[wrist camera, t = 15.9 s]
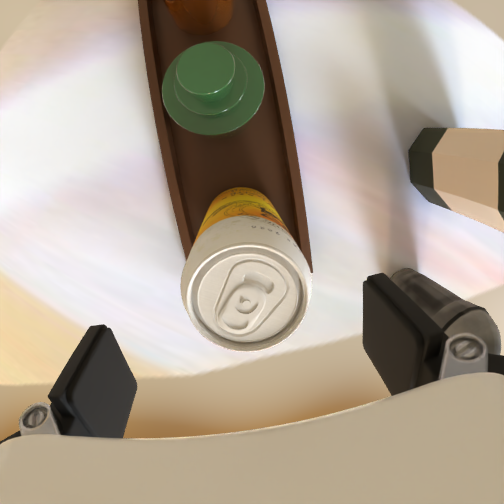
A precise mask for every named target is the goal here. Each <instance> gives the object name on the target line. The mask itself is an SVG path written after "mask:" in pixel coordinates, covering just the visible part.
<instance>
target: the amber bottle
mask: <svg viewBox="0 0 504 504" xmlns="http://www.w3.org/2000/svg"><path fill="white" fill-rule="evenodd" d="M163 2H164V4H165V6H166V8H167V10H168V11H169V13H170V15H171V17H172V19H173V21H174V23H175V24H176V26H177V27H178V28H179V29H180V30H182V31H183V32H185V33H188V34H191V35H208V34H212V33H214V32H217V31H219V30H221V29H222V28H223V27H225V26H226V25H227V24H228V23H229V22H230V20H231V18H232V16H233V13H234V0H163Z"/></svg>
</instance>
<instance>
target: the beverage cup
mask: <svg viewBox="0 0 504 504" xmlns="http://www.w3.org/2000/svg"><path fill="white" fill-rule="evenodd" d="M390 279H391V280H392V281H393V282H394V283H395V284H396V285H397V286H398V287H399V288H400V289H401V290H402V291H403V292H405V293H406V294H407V295H408V296H409V297H410V298H411V299H412V300H413V301H414V302H415V303H416V304H417V305H418V306H419V307H420V308H421V309H422V310H423V311H424V312H425V313H426V314H427V315H428V316H429V317H430V318H431V319H432V320H433V321H434V322H435V323H436V324H437V325H438V326H439V327H440V328H441V329H442V330H443V331H444V333H445V334H446V335H447V336H448V337H449V338H450V337H451V336H453V335H455V334H458V333H471V334H475V335H477V336H479V337H481V338H482V339H483V340H484V341H485V342H486V344H487V347H488V353H489V354H496V355H500V352H501V339H500V333H499V330H498V327H497V325H496V324H495V322H494V321H493V319H492V318H491V316H490V315H489V313H488V312H487V311H486V309H485V308H482V307H480V306H477V305H475V304H472V303H470V302H468V301H465V300H463V299H461V298H460V297H458V296H457V295H455V294H453V293H452V292H450V291H449V290H447V289H445V288H444V287H442V286H441V285H439V284H437V283H436V282H434V281H432V280H431V279H429V278H427V277H426V276H424V275H422V274H420V273H418V272H416V271H414V270H412V269H410V268H407V269H402V270H399V271H398V272H396V273H395V274H394V275H393V276H392V277H391V278H390Z"/></svg>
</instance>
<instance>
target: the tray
mask: <svg viewBox="0 0 504 504" xmlns="http://www.w3.org/2000/svg"><path fill="white" fill-rule="evenodd" d="M138 6H139V16H140V24H141V33H142V41H143V48H144V55H145V62H146V69H147V76H148V82H149V88H150V94H151V100H152V106H153V112H154V117H155V123H156V128H157V134H158V139H159V144H160V149H161V154H162V159H163V164H164V168H165V173H166V178H167V182H168V187H169V191H170V196H171V200H172V204H173V209H174V213H175V217H176V221H177V225H178V229H179V234H180V238H181V242H182V245H183V249H184V253H185V257H186V261H187V259H188V256H189V254H190V252H191V249H192V247H193V244H194V242H195V239H196V237H197V235H198V232H199V230H200V227H201V225H202V223H203V220H204V218H205V216H206V213H207V211H208V209H209V207H210V205H211V203H212V202H213V200H214V199H215V198H216V197H217V196H218V195H220V194H221V193H223V192H224V191H226V190H229V189H232V188H237V187H246V188H251V189H254V190H257V191H259V192H260V193H262V194H263V195H265V196H266V197H267V198H268V199H269V201H270V202H271V203H272V205H273V206H274V208H275V210H276V211H277V213H278V215H279V216H280V218H281V219H282V221H283V223H284V224H285V226H286V227H287V229H288V231H289V232H290V234H291V236H292V237H293V239H294V241H295V242H296V244H297V246H298V247H299V249H300V251H301V252H302V254H303V256H304V257H305V259H306V261H307V263H308V266H309V268H310V272H311V273H313V268H312V259H311V251H310V242H309V234H308V226H307V218H306V211H305V203H304V196H303V189H302V182H301V176H300V169H299V163H298V157H297V150H296V144H295V138H294V132H293V127H292V121H291V116H290V110H289V105H288V99H287V94H286V89H285V84H284V79H283V74H282V69H281V64H280V60H279V55H278V50H277V46H276V41H275V37H274V32H273V28H272V24H271V20H270V15H269V11H268V7H267V3H266V0H234V13H233V16H232V18H231V20H230V22H229V23H228V24H227V25H226V26H225V27H223V28H222V29H221V30H219V31H217V32H214V33H212V34H208V35H191V34H188V33H185V32H183V31H182V30H180V29H179V28H178V27H177V26H176V24H175V23H174V21H173V19H172V17H171V15H170V13H169V11H168V10H167V8H166V6H165V4H164V2H163V0H138ZM209 41H222V42H228V43H232V44H235V45H237V46H239V47H241V48H243V49H244V50H246V51H247V52H249V53H250V54H251V55H252V56H253V57H254V58H255V60H256V61H257V63H258V64H259V66H260V68H261V70H262V73H263V77H264V83H265V86H264V96H263V99H262V102H261V104H260V106H259V108H258V110H257V112H256V114H255V115H254V117H253V119H252V120H251V122H250V124H249V125H248V127H247V128H246V129H245V130H244V131H243V132H242V133H240V134H239V135H237V136H235V137H233V138H230V139H225V140H216V139H211V138H208V137H205V136H202V135H199V134H196V133H193V132H191V131H188V130H186V129H185V128H183V127H181V126H180V125H179V124H177V123H176V122H175V121H174V120H173V119H172V117H171V116H170V115H169V113H168V112H167V110H166V108H165V105H164V102H163V98H162V84H163V79H164V76H165V73H166V71H167V69H168V67H169V66H170V64H171V63H172V61H173V60H174V59H175V58H176V57H177V56H178V55H179V54H180V53H182V52H183V51H185V50H186V49H188V48H190V47H191V46H194V45H196V44H199V43H203V42H209Z"/></svg>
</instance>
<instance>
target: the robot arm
mask: <svg viewBox="0 0 504 504" xmlns="http://www.w3.org/2000/svg"><path fill="white" fill-rule="evenodd" d="M363 346H364V349H365V351H366V353H367V355H368V356H369V358H370V359H371V361H372V363H373V364H374V366H375V368H376V369H377V371H378V373H379V374H380V376H381V378H382V379H383V381H384V383H385V384H386V386H387V388H388V390H389V391H390V393H391V395H392V396H390V397H387V398H384V399H381V400H378V401H375V402H372V403H369V404H365V405H361V406H358V407H355V408H351V409H347V410H344V411H340V412H337V413H333V414H328V415H324V416H321V417H316V418H312V419H307V420H303V421H298V422H293V423H288V424H283V425H278V426H272V427H267V428H260V429H254V430H247V431H240V432H232V433H224V434H216V435H215V434H214V435H204V436H191V437H175V438H144V439H141V438H137V439H130V438H128V439H127V438H123V435H124V432H125V428H126V424H127V421H128V418H129V414H130V411H131V407H132V404H133V401H134V397H135V394H136V391H137V382H136V380H135V378H134V376H133V374H132V372H131V370H130V368H129V366H128V364H127V362H126V360H125V358H124V356H123V354H122V352H121V349H120V347H119V345H118V343H117V341H116V339H115V337H114V334H113V332H112V330H111V329H110V328H107V326H106V325H104V324H103V325H95V326H90V327H89V329H88V330H87V332H86V333H85V335H84V337H83V338H82V340H81V341H80V343H79V344H78V346H77V348H76V349H75V351H74V352H73V354H72V356H71V357H70V359H69V361H68V362H67V364H66V366H65V367H64V369H63V371H62V372H61V374H60V376H59V377H58V379H57V381H56V382H55V384H54V386H53V388H52V389H51V391H50V393H49V395H48V398H49V399H50V401H51V402H52V403H51V405H50V406H49V405H48V404H46V403H43V402H40V403H35V404H32V405H30V406H29V407H28V408H26V409H25V410H24V411H23V413H22V414H21V416H20V419H19V427H20V431H18V432H16V433H15V434H13V435H11V436H9V437H7V438H6V439H4V440H2V441H0V504H504V356H502V355H496V354H489V353H488V347H487V344H486V342H485V341H484V340H483V339H482V338H481V337H479V336H477V335H475V334H471V333H458V334H455V335H453V336H451V337H450V338H449V337H448V336H447V335H446V334H445V333H444V331H443V330H442V329H441V328H440V327H439V326H438V325H437V324H436V323H435V322H434V321H433V320H432V319H431V318H430V317H429V316H428V315H427V314H426V313H425V312H424V311H423V310H422V309H421V308H420V307H419V306H418V305H417V304H416V303H415V302H414V301H413V300H412V299H411V298H410V297H409V296H408V295H407V294H406V293H405V292H403V291H402V290H401V289H400V288H399V287H398V286H397V285H396V284H395V283H394V282H393V281H392V280H391V279H390V278H388V277H387V276H386V275H385V274H384V273H379V274H375V275H371V276H368V277H367V281H364V282H363Z"/></svg>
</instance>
